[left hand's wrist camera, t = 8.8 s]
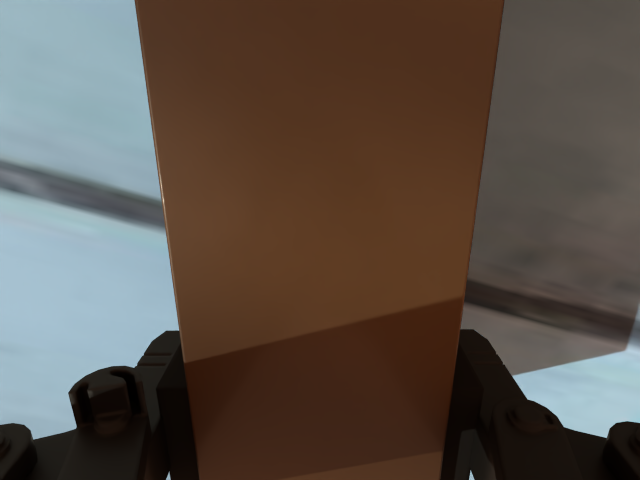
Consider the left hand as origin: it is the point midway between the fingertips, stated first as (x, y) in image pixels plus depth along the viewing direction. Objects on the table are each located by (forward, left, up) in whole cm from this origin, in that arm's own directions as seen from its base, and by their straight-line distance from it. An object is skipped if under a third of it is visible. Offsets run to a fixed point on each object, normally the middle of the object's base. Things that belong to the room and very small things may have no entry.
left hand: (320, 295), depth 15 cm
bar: (+26, +19, -1) cm, 32 cm away
